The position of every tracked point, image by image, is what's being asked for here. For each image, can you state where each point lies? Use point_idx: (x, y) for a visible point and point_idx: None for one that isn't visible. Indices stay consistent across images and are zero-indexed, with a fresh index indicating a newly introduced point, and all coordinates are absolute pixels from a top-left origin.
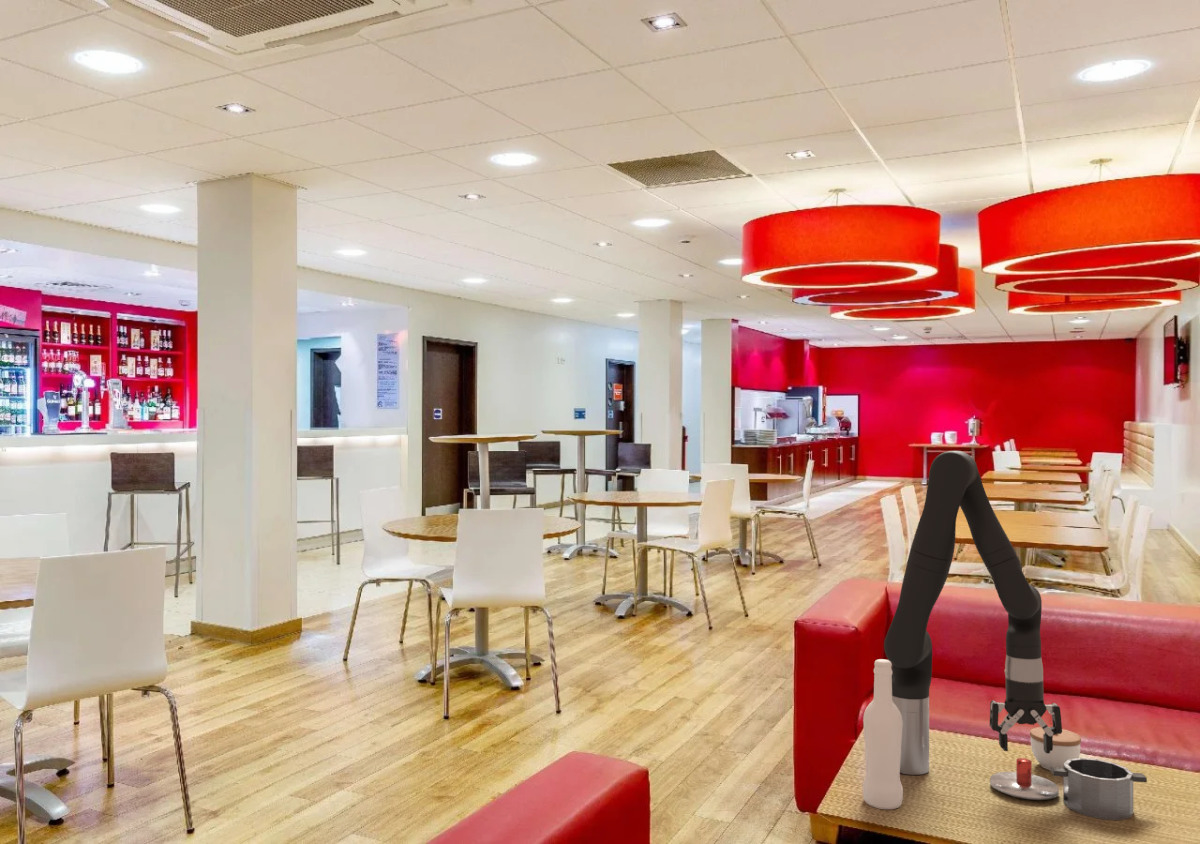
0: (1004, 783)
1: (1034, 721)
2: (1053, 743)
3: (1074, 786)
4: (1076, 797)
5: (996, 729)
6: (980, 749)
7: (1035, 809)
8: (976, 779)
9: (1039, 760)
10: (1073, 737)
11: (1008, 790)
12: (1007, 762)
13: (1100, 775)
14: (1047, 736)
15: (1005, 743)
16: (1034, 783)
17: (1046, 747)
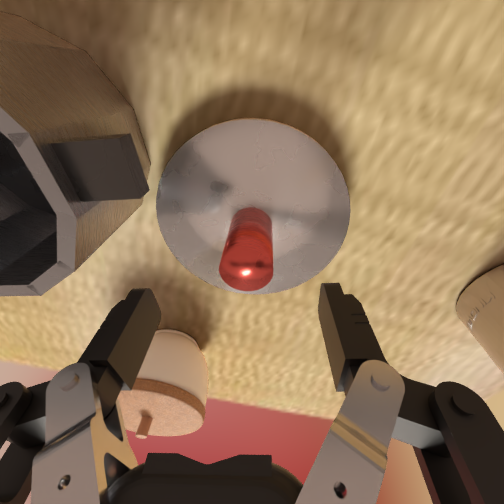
0: (311, 212)
1: (131, 492)
2: (151, 383)
3: (48, 84)
4: (70, 72)
5: (441, 393)
6: (292, 383)
7: (241, 51)
8: (357, 264)
9: (197, 350)
10: None
11: (317, 152)
12: (257, 349)
13: (13, 248)
14: (100, 363)
15: (342, 310)
16: (221, 234)
17: (135, 306)
